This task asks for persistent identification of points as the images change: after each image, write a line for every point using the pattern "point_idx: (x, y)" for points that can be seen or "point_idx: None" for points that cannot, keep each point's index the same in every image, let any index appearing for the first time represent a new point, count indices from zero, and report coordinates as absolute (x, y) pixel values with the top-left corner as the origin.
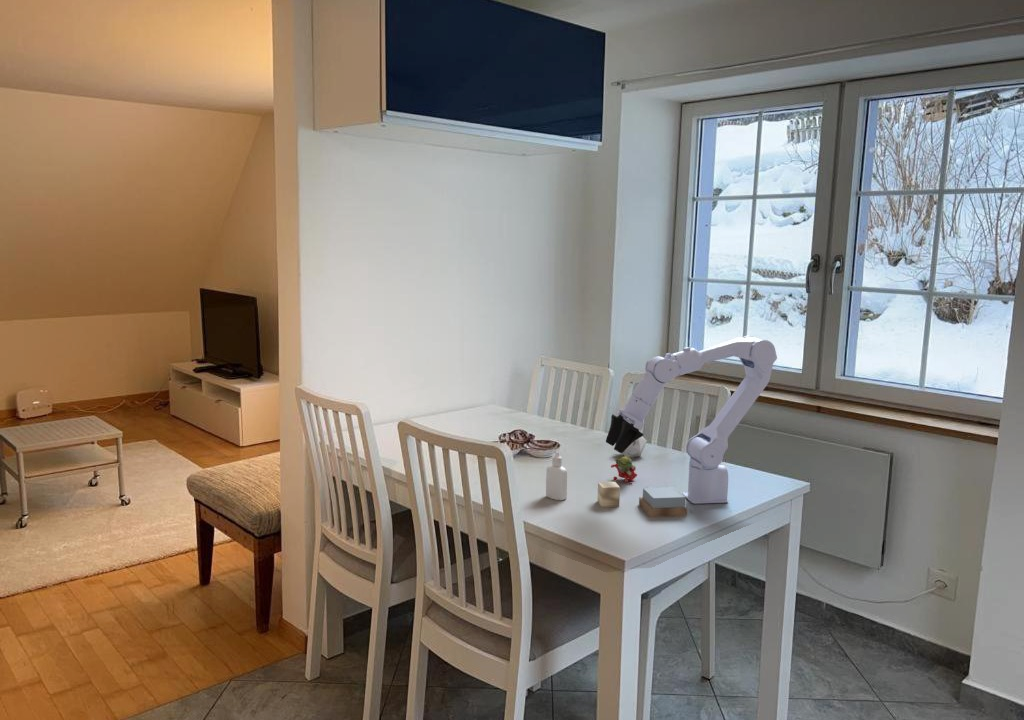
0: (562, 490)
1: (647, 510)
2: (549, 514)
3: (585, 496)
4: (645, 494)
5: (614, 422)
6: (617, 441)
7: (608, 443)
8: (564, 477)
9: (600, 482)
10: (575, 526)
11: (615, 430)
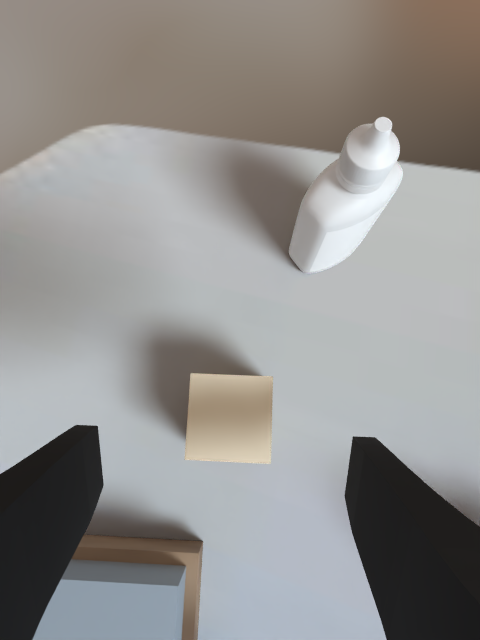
0: (291, 239)
1: (90, 539)
2: (160, 185)
3: (330, 352)
4: (141, 575)
5: (472, 624)
6: (36, 460)
7: (350, 458)
8: (303, 223)
9: (269, 387)
10: (36, 237)
11: (409, 582)
